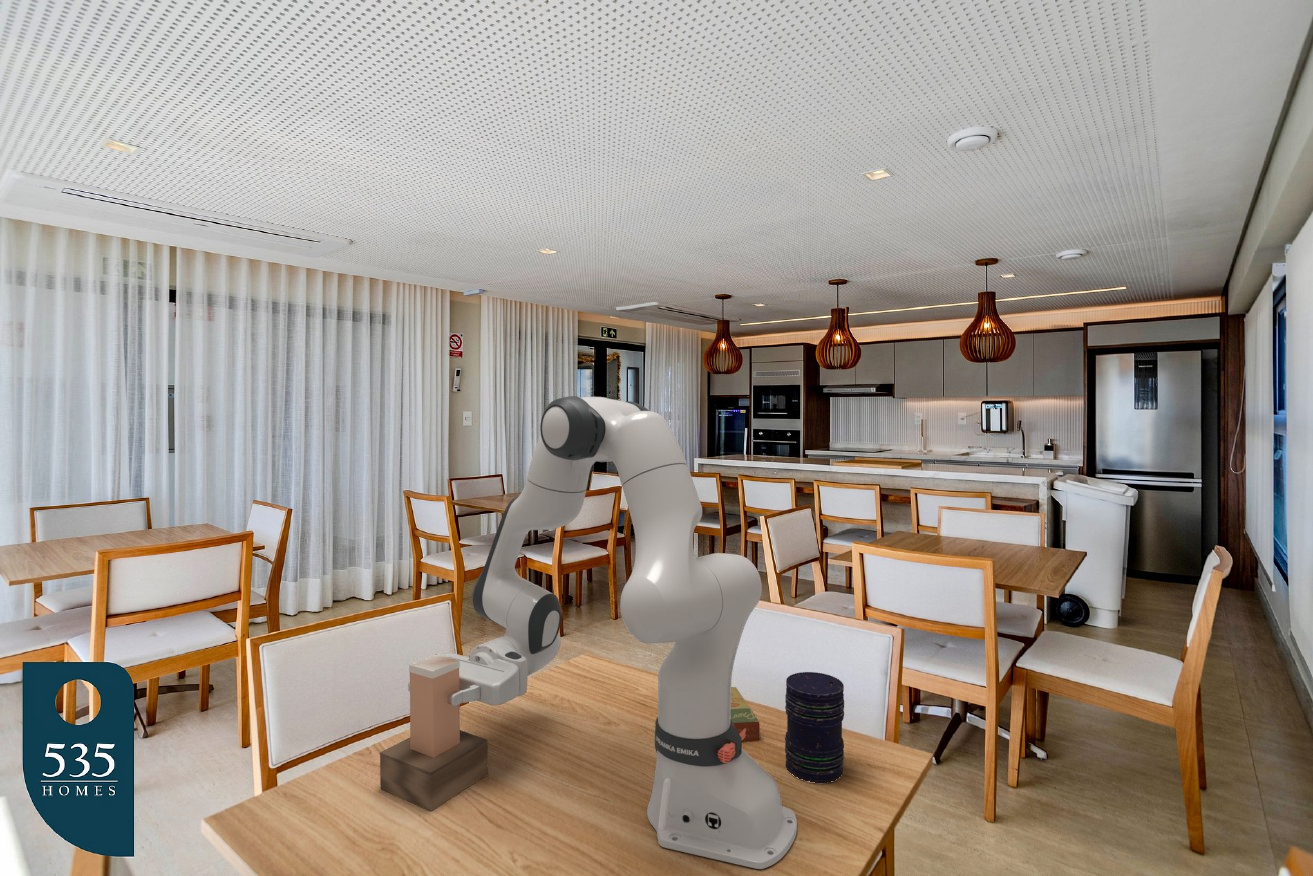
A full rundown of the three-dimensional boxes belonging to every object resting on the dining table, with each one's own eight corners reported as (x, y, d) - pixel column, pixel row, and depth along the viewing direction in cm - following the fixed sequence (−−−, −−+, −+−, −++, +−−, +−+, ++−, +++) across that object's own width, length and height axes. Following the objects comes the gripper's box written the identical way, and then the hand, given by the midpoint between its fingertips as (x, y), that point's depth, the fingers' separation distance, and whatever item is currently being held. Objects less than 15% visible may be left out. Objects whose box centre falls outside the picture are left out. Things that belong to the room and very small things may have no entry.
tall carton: (460, 743, 109) (459, 660, 109) (433, 758, 104) (432, 671, 104) (437, 734, 112) (436, 654, 111) (410, 749, 107) (409, 664, 107)
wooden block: (488, 774, 110) (487, 739, 110) (431, 811, 100) (430, 772, 100) (438, 756, 116) (438, 722, 116) (380, 788, 106) (380, 752, 106)
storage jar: (791, 784, 107) (792, 695, 107) (779, 754, 117) (779, 672, 117) (851, 784, 108) (852, 694, 107) (834, 753, 117) (835, 671, 117)
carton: (736, 705, 138) (737, 685, 138) (760, 742, 122) (761, 720, 122) (698, 707, 137) (698, 687, 137) (717, 745, 121) (717, 723, 121)
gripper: (451, 639, 124) (388, 663, 112) (533, 659, 114) (474, 688, 102) (451, 672, 124) (389, 699, 112) (533, 695, 114) (474, 727, 102)
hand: (430, 694), depth 107 cm, fingers open, 8 cm apart
